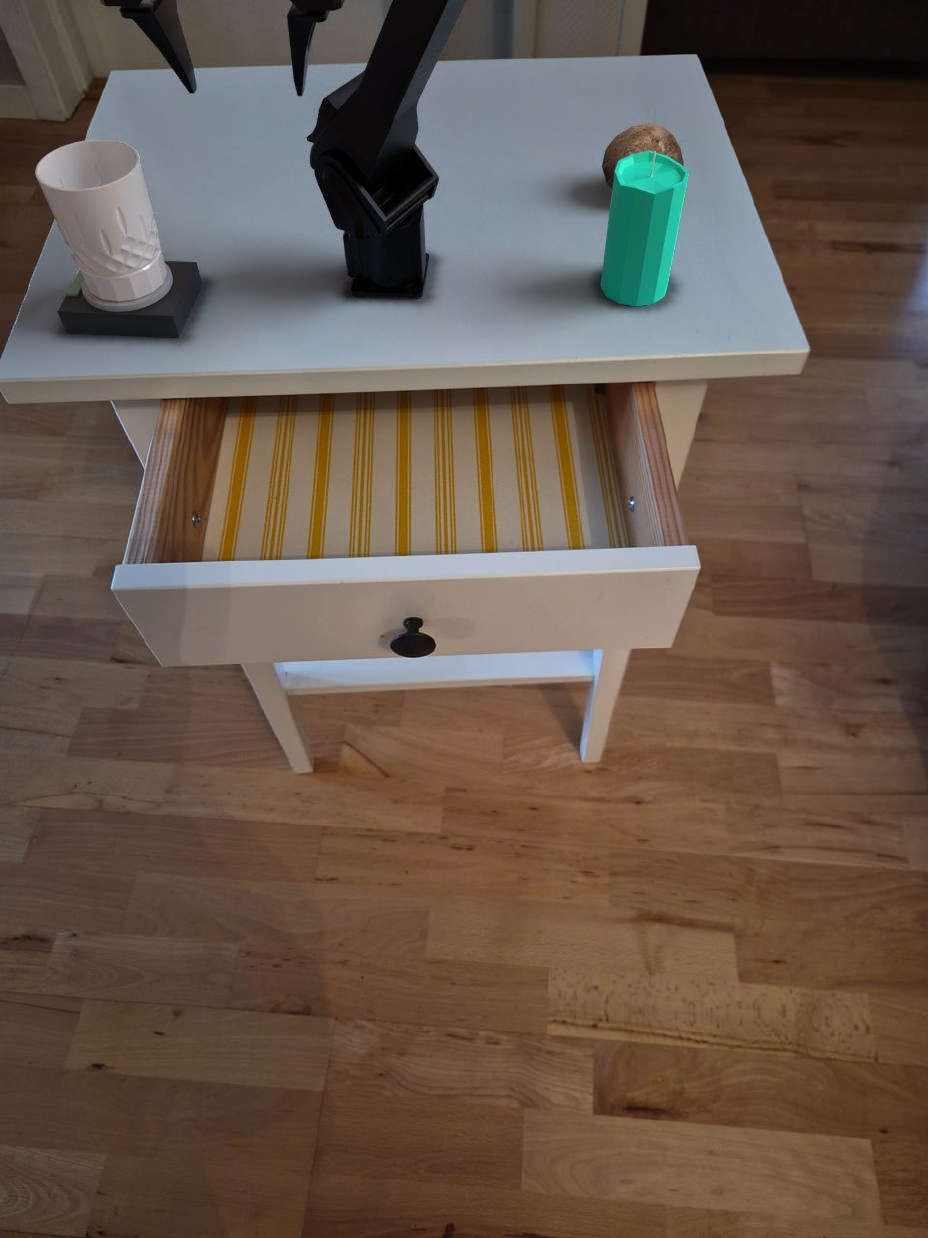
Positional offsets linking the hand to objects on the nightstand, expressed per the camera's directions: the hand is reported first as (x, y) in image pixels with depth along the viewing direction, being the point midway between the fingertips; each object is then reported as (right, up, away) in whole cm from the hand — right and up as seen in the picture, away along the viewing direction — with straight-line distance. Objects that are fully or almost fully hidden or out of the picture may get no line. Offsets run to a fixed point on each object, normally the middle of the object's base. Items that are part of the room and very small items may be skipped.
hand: (247, 92), depth 76 cm
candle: (+34, -15, +5) cm, 37 cm away
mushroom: (+36, -2, +15) cm, 39 cm away
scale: (-11, -17, +4) cm, 20 cm away
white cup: (-11, -15, +2) cm, 19 cm away
